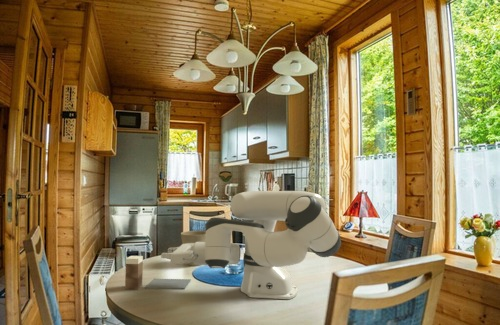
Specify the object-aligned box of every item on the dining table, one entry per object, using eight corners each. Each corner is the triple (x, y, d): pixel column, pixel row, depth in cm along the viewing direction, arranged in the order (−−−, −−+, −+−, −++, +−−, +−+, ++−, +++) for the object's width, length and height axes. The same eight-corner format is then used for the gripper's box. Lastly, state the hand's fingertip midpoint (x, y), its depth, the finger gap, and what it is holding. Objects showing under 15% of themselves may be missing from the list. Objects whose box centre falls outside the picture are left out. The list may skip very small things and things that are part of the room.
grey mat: (190, 280, 143) (190, 279, 143) (184, 289, 132) (184, 287, 132) (153, 280, 144) (153, 278, 144) (144, 288, 133) (144, 286, 133)
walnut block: (142, 285, 136) (142, 255, 137) (137, 289, 131) (138, 258, 132) (130, 285, 136) (130, 255, 137) (125, 289, 131) (125, 258, 132)
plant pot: (211, 260, 178) (212, 230, 179) (207, 268, 163) (208, 235, 164) (183, 260, 178) (184, 230, 179) (177, 267, 164) (177, 235, 164)
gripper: (194, 268, 122) (156, 267, 122) (203, 255, 142) (171, 255, 142) (195, 250, 122) (157, 250, 122) (203, 240, 142) (171, 240, 143)
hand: (164, 252), depth 133 cm, fingers open, 8 cm apart
